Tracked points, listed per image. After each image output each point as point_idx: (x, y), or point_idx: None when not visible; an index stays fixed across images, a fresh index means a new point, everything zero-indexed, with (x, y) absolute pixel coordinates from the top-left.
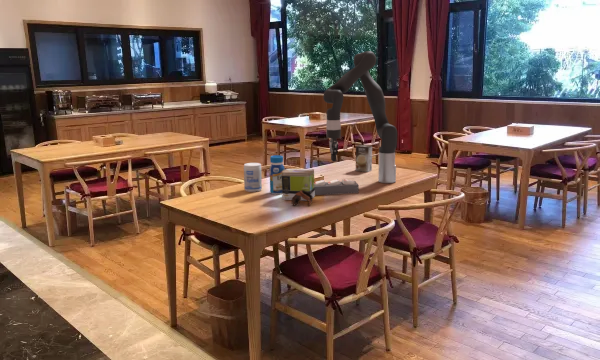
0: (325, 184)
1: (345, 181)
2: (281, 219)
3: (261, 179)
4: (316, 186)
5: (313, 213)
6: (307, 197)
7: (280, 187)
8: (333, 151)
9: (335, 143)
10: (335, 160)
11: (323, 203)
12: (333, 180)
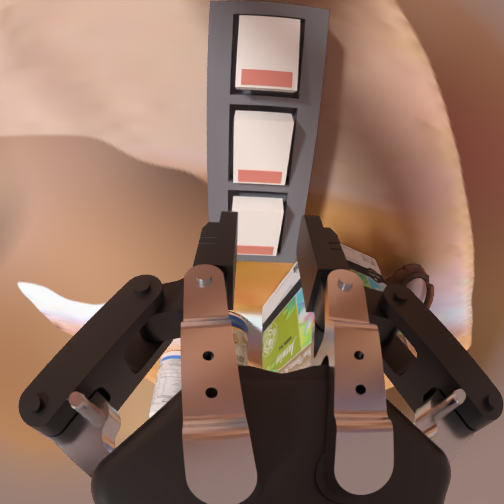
0: (282, 200)
1: (296, 80)
2: (456, 321)
3: (179, 377)
4: (294, 243)
5: (471, 266)
6: (432, 293)
7: (245, 341)
8: (407, 353)
9: (459, 445)
10: (330, 233)
11: (418, 222)
12: (240, 148)
